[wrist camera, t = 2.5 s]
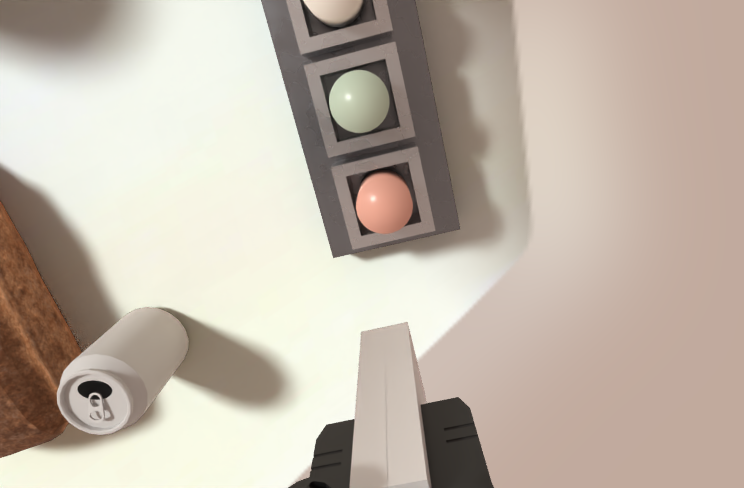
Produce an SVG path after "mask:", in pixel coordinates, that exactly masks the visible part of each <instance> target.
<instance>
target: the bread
mask: <svg viewBox="0 0 744 488" xmlns="http://www.w3.org/2000/svg"><path fill="white" fill-rule="evenodd" d="M81 353H82V352H81V350H80V348H79V346H78V344H77V342H76V340H75V338H74V336H73V334H72V332H71V330H70V328H69V326H68V325H67V323H66V321H65V319H64V318H63V316H62V314H61V312H60V310H59V309H58V307H57V305H56V303H55V301H54V300H53V298H52V296H51V294H50V292H49V291H48V289H47V287H46V285H45V284H44V282H43V280H42V278H41V276H40V274H39V272H38V270H37V268H36V266H35V264H34V261H33V259H32V257H31V255H30V253H29V251H28V249H27V247H26V245H25V243H24V241H23V240H22V238H21V236H20V235H19V233H18V231H17V230H16V228H15V226H14V224H13V223H12V221H11V219H10V217H9V215H8V213H7V212H6V210H5V208H4V206H3V204H2V203H1V201H0V458H2V457H5V456H8V455H11V454H14V453H17V452H19V451H22V450H25V449H28V448H31V447H34V446H37V445H40V444H42V443H45V442H48V441H50V440H53V439H54V438H56V437H57V436H58V435H60V434H61V433H63V431H64V430H65V428H66V426H67V425H68V424H69V422H68V421H67V420H66V418H65V417H64V416H63V415H62V414H61V411H60V409H59V407H58V404H57V391H58V388H59V385H60V380H61V377H62V374H63V371H64V370H65V369H66V368H67V366H68V365H69V364H70V363H71V362H72V361H73V360H74V359H75V358H77V357H78V356H79V355H80V354H81Z"/></svg>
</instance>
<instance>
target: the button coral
mask: <svg viewBox="0 0 744 488" xmlns="http://www.w3.org/2000/svg"><path fill="white" fill-rule="evenodd" d="M412 210H413V202H412V198H411V194H410V191H409V188H408V185H407V183H406V182H405V180H404V179H403V178H402V177H401V176H400V175H399V174H397V173H396V172H393V171H390V170H378V171H375V172H372V173H371V174H369V175H368V176H367V177H366V178H365V179H364V180H363V181H362V183H361V185H360V188H359V192H358V197H357V201H356V211H357V215H358V217H359V219H360V221H361V223H362V224H363V225H364V226H365V227H366V228H368V229H369V230H371V231H373V232H375V233H380V234H389V233H393V232H396V231H398V230H400V229H401V228H402V227H404V226H405V225H406V224H407V222H408V221H409V219H410V217H411V214H412Z"/></svg>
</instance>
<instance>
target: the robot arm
mask: <svg viewBox="0 0 744 488" xmlns="http://www.w3.org/2000/svg"><path fill="white" fill-rule="evenodd" d="M311 469H312V471H311V472H310V477H309V478H306V479H303V480H301V481H298V482H296V483H295V484H293V485H292V486H290V487H289V488H494V487H493V485H492V482H491V479H490V476H489V472H488V469H487V465H486V462H485V458H484V455H483V451H482V448H481V445H480V441H479V438H478V434H477V431H476V427H475V424H474V421H473V417H472V414H471V410H470V408H469V407H468V406H467V405H466V404H465V403H464V402H463V401H462V400H461V399H460V398H458V397H457V398H452V399H447V400H442V401H437V402H432V403H426V398H425V392H424V388H423V385H422V380H421V376H420V372H419V368H418V363H417V359H416V355H415V351H414V347H413V343H412V339H411V335H410V331H409V326H408V322H405V323H401V324H396V325H391V326H387V327H382V328H377V329H372V330H368V331H363V332H361V343H360V356H359V369H358V382H357V395H356V408H355V419H353V420H348V421H343V422H338V423H333V424H328V425H326V426H325V428H324V429H323V431H322V432H321V434H320V435H319V436H318V438H317V439H316V444H315V450H314V458H313V461H312V466H311Z"/></svg>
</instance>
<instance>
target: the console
mask: <svg viewBox="0 0 744 488" xmlns="http://www.w3.org/2000/svg"><path fill="white" fill-rule="evenodd" d="M261 2H262V5H263V9H264V12H265V16H266V19H267V23H268V27H269V30H270V34H271V37H272V41H273V44H274V48H275V52H276V55H277V59H278V62H279V66H280V69H281V73H282V76H283V80H284V84H285V87H286V91H287V94H288V98H289V101H290V105H291V109H292V112H293V116H294V119H295V123H296V126H297V130H298V134H299V137H300V141H301V144H302V148H303V151H304V155H305V158H306V162H307V166H308V169H309V173H310V176H311V180H312V183H313V187H314V191H315V194H316V198H317V201H318V205H319V208H320V212H321V216H322V219H323V223H324V226H325V230H326V233H327V237H328V241H329V244H330V248H331V251H332V255H333V258H335V257H340V256H344V255H349V254H353V253H357V252H362V251H366V250H371V249H375V248H379V247H384V246H388V245H392V244H397V243H401V242H406V241H410V240H414V239H419V238H423V237H428V236H432V235H436V234H441V233H445V232H450V231H454V230H458V229H460V226H459V221H458V216H457V211H456V206H455V201H454V196H453V190H452V185H451V180H450V175H449V170H448V165H447V160H446V155H445V150H444V145H443V140H442V135H441V130H440V125H439V119H438V114H437V109H436V104H435V99H434V94H433V89H432V84H431V79H430V74H429V69H428V64H427V59H426V54H425V48H424V43H423V38H422V33H421V28H420V23H419V18H418V13H417V8H416V3H415V0H364V5H363V8H362V11H361V13H360V14H359V16H358V17H357V18H356V19H355V20H354V21H353V22H352V23H350V24H348V25H346V26H343V27H331V26H328V25H325V24H323V23H322V22H320V21H319V20H318V19H317V18H316V17H315V16H314V14H313V13H312V12H311V11H310V9H309V8H308V7H307V6H306V4H305V3H304V1H303V0H261ZM354 70H364V71H368V72H371V73H373V74H375V75H376V76H377V77H379V78H380V79H381V80H382V82H383V83H384V84H385V86H386V88H387V90H388V94H389V109H388V113H387V115H386V117H385V119H384V120H383V122H382V123H381V124H380V125H379V126H378V127H376V128H375V129H373V130H371V131H368V132H364V133H355V132H351V131H348V130H346V129H344V128H343V127H341V126H340V125H339V124H338V123H337V122H336V121H335V119H334V118H333V116H332V114H331V111H330V106H329V96H330V92H331V89H332V87H333V85H334V83H335V82H336V81H337V80H338V78H340V77H341V76H342V75H344V74H345V73H347V72H350V71H354ZM378 170H390V171H393V172H396V173H397V174H399V175H400V176H401V177H402V178H403V179H404V180H405V182H406V183H407V185H408V188H409V191H410V194H411V198H412V202H413V210H412V214H411V217H410V219H409V221H408V222H407V224H406V225H405V226H404V227H402V228H401V229H400V230H398V231H396V232H393V233H389V234H380V233H375V232H373V231H371V230H369V229H368V228H366V227H365V226H364V225H363V224H362V223H361V221H360V219H359V217H358V215H357V211H356V201H357V197H358V192H359V188H360V185H361V183H362V181H363V180H364V179H365V178H366V177H367V176H368V175H369V174H371V173H372V172H375V171H378Z"/></svg>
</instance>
